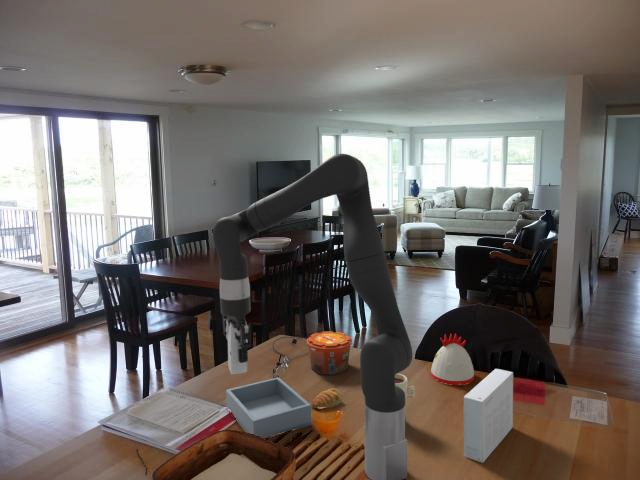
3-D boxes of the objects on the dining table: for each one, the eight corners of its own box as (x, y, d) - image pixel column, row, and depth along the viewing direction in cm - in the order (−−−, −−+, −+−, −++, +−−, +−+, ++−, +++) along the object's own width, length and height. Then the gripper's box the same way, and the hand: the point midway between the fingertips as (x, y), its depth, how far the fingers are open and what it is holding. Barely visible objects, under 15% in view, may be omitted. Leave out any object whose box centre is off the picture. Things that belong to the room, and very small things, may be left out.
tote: (311, 425, 143) (311, 404, 142) (254, 442, 135) (253, 421, 134) (279, 395, 161) (278, 377, 160) (226, 409, 153) (225, 389, 152)
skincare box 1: (227, 366, 136) (225, 321, 134) (244, 363, 137) (242, 319, 135) (231, 375, 130) (229, 329, 128) (249, 372, 132) (247, 326, 130)
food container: (360, 364, 184) (360, 335, 183) (337, 380, 171) (337, 349, 169) (322, 355, 193) (321, 327, 191) (297, 370, 180) (297, 341, 178)
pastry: (322, 414, 150) (321, 401, 149) (306, 406, 154) (306, 394, 154) (344, 403, 156) (344, 391, 155) (328, 396, 161) (328, 384, 160)
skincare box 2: (493, 421, 144) (495, 367, 141) (513, 427, 140) (516, 372, 138) (461, 456, 128) (463, 395, 125) (482, 464, 124) (484, 402, 122)
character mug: (373, 426, 142) (373, 382, 140) (376, 414, 149) (376, 371, 146) (413, 431, 139) (414, 385, 137) (414, 418, 146) (415, 374, 144)
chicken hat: (428, 368, 180) (428, 326, 178) (468, 368, 180) (469, 326, 177) (435, 385, 166) (436, 341, 164) (478, 386, 166) (480, 341, 163)
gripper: (260, 298, 127) (262, 363, 129) (238, 286, 139) (240, 346, 141) (231, 303, 123) (234, 370, 125) (211, 290, 135) (214, 351, 138)
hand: (237, 357), depth 133 cm, fingers closed on skincare box 1, 6 cm apart
